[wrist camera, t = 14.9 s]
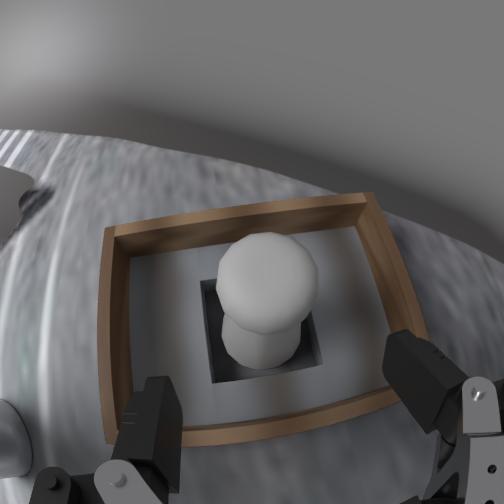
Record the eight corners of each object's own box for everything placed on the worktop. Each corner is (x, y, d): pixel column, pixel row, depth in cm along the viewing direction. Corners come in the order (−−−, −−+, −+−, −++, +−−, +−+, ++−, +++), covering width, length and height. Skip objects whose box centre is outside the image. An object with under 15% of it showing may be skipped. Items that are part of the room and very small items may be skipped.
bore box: (140, 435, 18) (106, 443, 12) (130, 262, 25) (104, 227, 20) (400, 388, 19) (439, 382, 14) (352, 230, 27) (372, 191, 22)
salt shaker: (229, 301, 24) (207, 203, 12) (297, 305, 23) (336, 212, 12) (221, 369, 21) (182, 336, 9) (294, 374, 21) (345, 347, 9)
